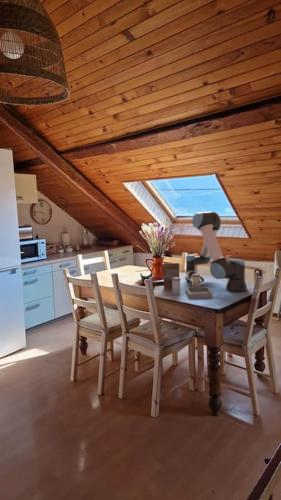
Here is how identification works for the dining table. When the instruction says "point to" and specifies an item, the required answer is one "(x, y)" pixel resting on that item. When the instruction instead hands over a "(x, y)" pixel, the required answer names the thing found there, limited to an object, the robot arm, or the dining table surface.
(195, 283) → the sage canister
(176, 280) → the gray canister
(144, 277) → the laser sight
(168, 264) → the panel
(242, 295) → the dining table surface
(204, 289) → the tray
